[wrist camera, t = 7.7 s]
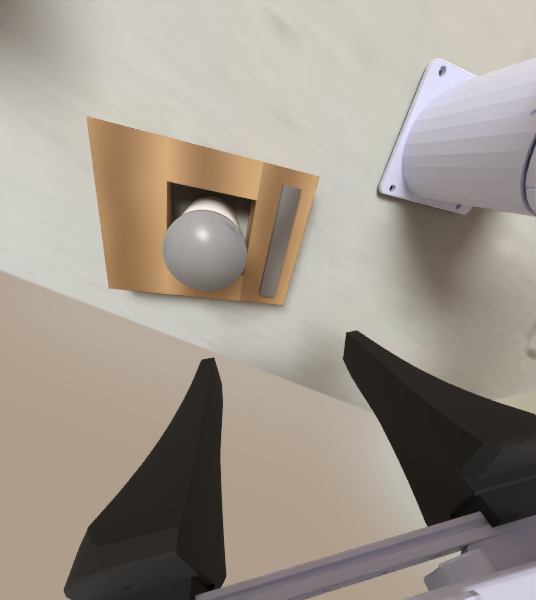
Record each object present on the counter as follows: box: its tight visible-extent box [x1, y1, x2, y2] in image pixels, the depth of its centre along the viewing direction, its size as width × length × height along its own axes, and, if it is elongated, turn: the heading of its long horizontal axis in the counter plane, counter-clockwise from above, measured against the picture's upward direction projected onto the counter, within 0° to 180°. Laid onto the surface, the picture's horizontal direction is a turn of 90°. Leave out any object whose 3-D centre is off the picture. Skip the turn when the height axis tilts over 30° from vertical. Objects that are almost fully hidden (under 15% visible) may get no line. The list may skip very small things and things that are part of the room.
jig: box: [86, 116, 319, 305], centre depth 16 cm, size 13×10×3 cm
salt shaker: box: [162, 196, 247, 291], centre depth 15 cm, size 4×4×7 cm
